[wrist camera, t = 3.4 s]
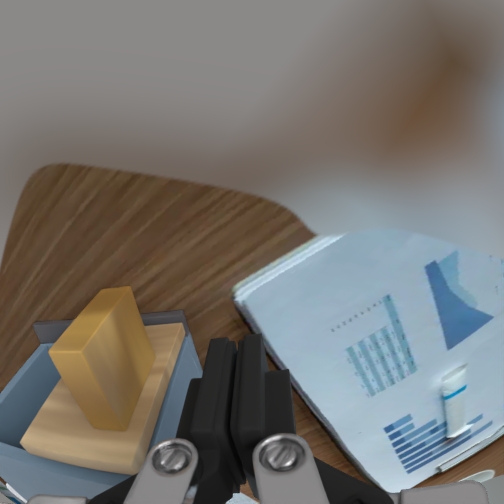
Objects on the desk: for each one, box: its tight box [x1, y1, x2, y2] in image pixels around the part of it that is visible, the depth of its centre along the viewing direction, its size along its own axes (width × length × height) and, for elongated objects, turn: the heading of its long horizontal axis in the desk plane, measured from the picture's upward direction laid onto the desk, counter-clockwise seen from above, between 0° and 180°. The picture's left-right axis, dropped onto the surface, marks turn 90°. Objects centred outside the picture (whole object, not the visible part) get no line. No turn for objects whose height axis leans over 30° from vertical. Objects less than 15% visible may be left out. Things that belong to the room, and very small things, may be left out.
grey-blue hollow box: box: [0, 310, 203, 501], centre depth 15 cm, size 10×12×11 cm
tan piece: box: [20, 286, 185, 475], centre depth 13 cm, size 5×6×10 cm
